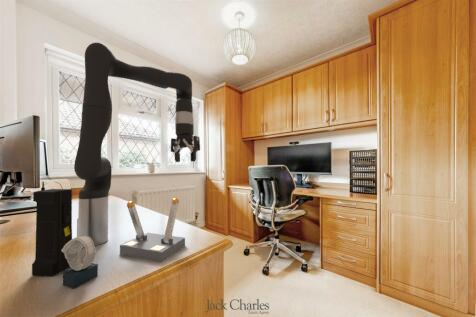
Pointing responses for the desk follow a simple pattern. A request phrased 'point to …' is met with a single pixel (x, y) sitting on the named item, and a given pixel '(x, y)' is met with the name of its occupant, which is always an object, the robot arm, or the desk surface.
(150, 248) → the switch console
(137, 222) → the lever
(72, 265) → the stone sculpture on base
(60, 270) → the portable radio
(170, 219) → the lever
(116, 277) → the desk surface
